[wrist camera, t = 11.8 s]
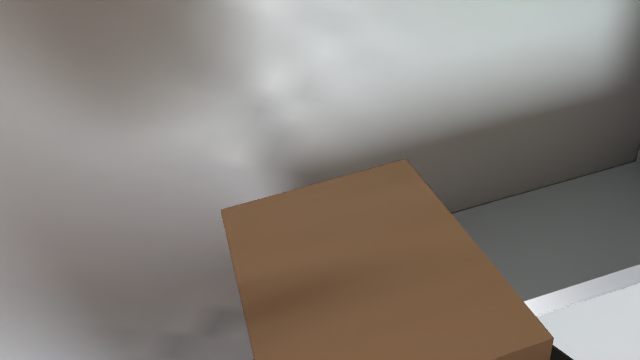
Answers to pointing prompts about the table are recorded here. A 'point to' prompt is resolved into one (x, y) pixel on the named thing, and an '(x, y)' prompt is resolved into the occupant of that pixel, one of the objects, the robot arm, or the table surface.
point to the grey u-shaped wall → (564, 238)
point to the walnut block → (372, 276)
